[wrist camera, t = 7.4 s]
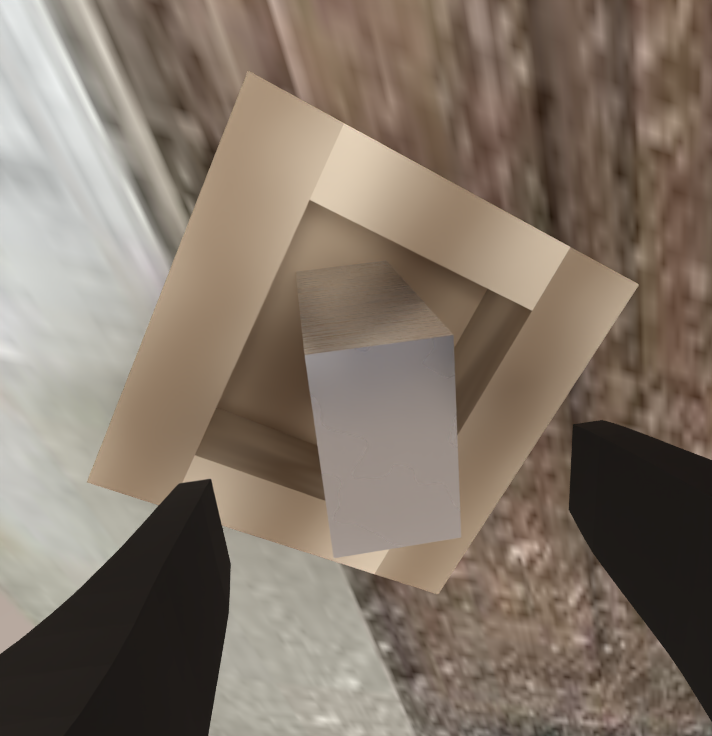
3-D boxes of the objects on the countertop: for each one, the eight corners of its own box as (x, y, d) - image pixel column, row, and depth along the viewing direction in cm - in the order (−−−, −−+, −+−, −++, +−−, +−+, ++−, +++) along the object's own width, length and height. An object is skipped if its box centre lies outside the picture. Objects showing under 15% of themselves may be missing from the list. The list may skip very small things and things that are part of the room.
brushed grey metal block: (385, 260, 19) (453, 334, 11) (397, 397, 21) (461, 537, 13) (295, 271, 19) (304, 355, 11) (315, 408, 20) (333, 558, 13)
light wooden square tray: (572, 258, 20) (639, 284, 16) (412, 522, 23) (438, 594, 20) (255, 87, 17) (248, 70, 13) (123, 419, 20) (87, 482, 17)
